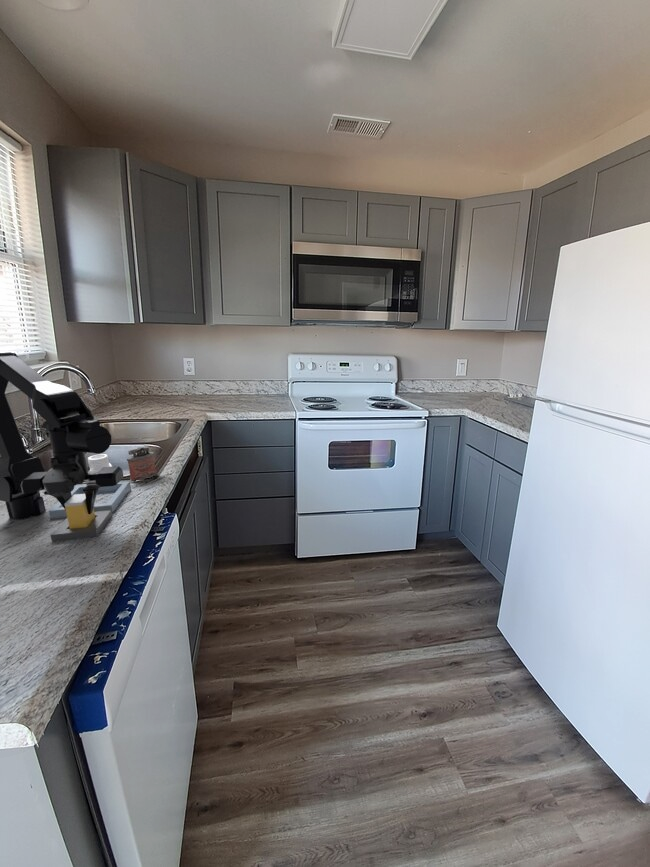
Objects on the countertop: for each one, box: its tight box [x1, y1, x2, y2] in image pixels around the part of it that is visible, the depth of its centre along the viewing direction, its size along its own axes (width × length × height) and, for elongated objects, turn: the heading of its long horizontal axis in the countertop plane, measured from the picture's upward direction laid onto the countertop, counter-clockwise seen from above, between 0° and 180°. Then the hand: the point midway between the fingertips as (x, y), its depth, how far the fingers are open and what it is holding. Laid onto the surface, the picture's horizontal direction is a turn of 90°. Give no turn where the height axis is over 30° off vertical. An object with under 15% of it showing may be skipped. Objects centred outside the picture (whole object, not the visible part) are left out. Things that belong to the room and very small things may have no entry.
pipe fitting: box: [87, 453, 113, 473], centre depth 121 cm, size 6×7×8 cm
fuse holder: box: [50, 510, 113, 542], centre depth 91 cm, size 9×10×2 cm
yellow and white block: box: [65, 494, 95, 529], centre depth 90 cm, size 4×5×6 cm
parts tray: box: [48, 480, 132, 519], centre depth 105 cm, size 14×16×3 cm
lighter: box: [126, 445, 157, 481], centre depth 122 cm, size 8×3×10 cm, turn 141°
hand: (81, 514), depth 90 cm, fingers closed on yellow and white block, 3 cm apart
